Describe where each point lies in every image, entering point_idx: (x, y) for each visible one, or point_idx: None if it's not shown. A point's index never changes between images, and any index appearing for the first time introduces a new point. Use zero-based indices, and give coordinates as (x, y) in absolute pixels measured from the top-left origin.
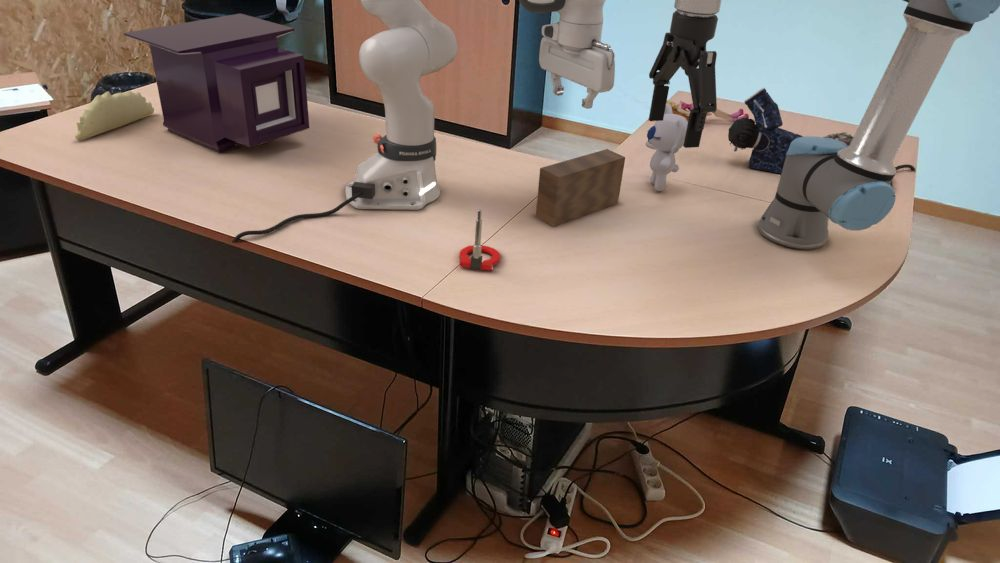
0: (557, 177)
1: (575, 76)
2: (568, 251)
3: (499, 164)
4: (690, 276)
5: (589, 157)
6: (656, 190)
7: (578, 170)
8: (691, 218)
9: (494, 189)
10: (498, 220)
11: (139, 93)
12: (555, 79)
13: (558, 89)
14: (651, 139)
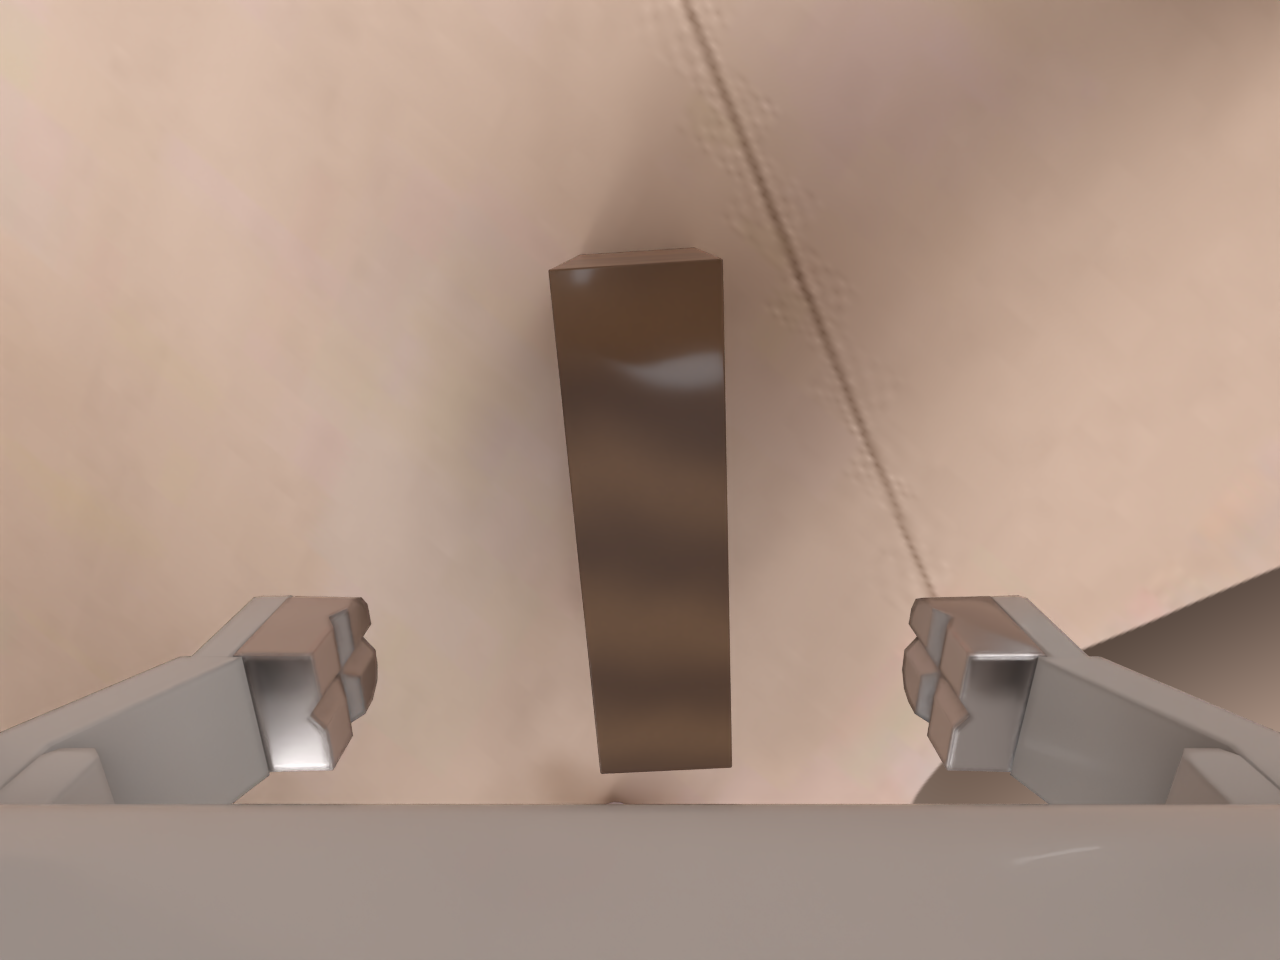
0: (555, 268)
1: (268, 957)
2: (359, 161)
3: (1206, 450)
4: (28, 460)
5: (691, 623)
6: (615, 802)
7: (575, 451)
8: (396, 757)
9: (1026, 255)
10: (760, 50)
11: None
12: (1168, 771)
13: (955, 658)
14: None
